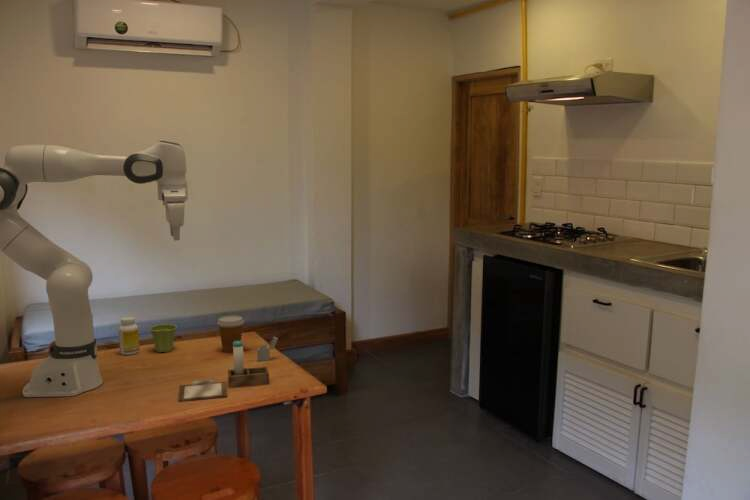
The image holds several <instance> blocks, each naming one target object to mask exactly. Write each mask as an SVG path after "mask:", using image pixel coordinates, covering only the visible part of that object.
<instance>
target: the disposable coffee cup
mask: <svg viewBox="0 0 750 500" xmlns="http://www.w3.org/2000/svg"><path fill="white" fill-rule="evenodd" d="M244 322H245V320H244V318H243V317H242V316H241V315H225V316H221V317H219V318H218V320H217V325H218V329H219V333H220V334H219V335H220V341H221V346H222V352H224V353H228V354H229V353H233V342H234V341H242V334H243V325H244Z"/></svg>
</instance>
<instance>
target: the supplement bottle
mask: <svg viewBox="0 0 750 500" xmlns="http://www.w3.org/2000/svg"><path fill="white" fill-rule="evenodd" d="M135 322H136V320H135V317H133V316H126V317H122V318H121V319H120V323H121V325H120V326H119V327H118V341H119V343H118V344H119V353H120V354H121V355H123V356H131V355H136V354H138V353H140V336H139V326H138V324H135Z"/></svg>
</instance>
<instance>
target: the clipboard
mask: <svg viewBox="0 0 750 500" xmlns="http://www.w3.org/2000/svg"><path fill="white" fill-rule="evenodd" d="M178 390H179V392H178V399H177V401H178V402H179V403H181V402H192V401H200V400H201V401H203V400H211V399H222V398H228V391H227V381H226V380H225V381H224V380H223V381H214V380H213V379H205V380H195V381H192V383H191V384H190V383H189V384H180V385H179V389H178Z"/></svg>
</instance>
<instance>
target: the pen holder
mask: <svg viewBox="0 0 750 500" xmlns="http://www.w3.org/2000/svg"><path fill="white" fill-rule="evenodd" d="M227 380H228V381H227V382H228V389H231V388H241V387H251V386H264V385H269V384H270V372H269V370H268V367H267V366H260V367H259V366H258V367H257V366H256V367H248V368H246V367H245V368H244V375H235V376H234V368H232V369H227Z"/></svg>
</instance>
